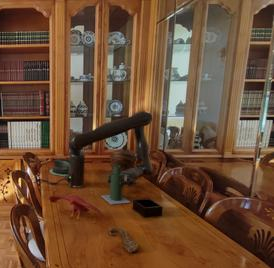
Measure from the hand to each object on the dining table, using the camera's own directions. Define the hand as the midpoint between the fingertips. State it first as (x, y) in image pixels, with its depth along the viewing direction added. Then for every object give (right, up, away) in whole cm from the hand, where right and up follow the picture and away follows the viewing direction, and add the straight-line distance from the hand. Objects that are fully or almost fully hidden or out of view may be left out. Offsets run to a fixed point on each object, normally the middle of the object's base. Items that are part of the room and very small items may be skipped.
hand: (114, 182), depth 123 cm
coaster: (+2, -10, +3) cm, 10 cm away
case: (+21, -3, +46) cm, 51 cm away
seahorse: (-8, -15, -34) cm, 38 cm away
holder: (+12, -12, -11) cm, 20 cm away
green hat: (-20, -3, +51) cm, 55 cm away
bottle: (+2, -9, +3) cm, 10 cm away
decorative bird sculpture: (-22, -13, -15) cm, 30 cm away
